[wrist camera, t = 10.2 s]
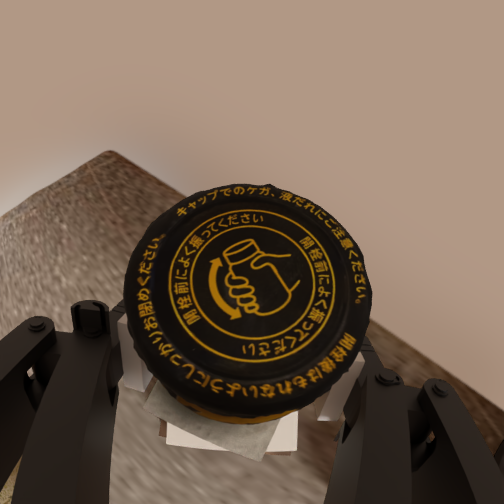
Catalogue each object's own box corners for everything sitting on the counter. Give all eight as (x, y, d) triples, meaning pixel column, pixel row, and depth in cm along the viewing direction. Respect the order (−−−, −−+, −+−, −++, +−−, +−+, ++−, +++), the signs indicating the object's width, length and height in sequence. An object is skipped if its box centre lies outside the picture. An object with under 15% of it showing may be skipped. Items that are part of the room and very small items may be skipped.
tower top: (290, 340, 31) (298, 332, 27) (288, 444, 25) (296, 450, 21) (182, 334, 30) (175, 325, 27) (174, 438, 24) (166, 443, 21)
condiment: (313, 334, 17) (422, 215, 6) (260, 461, 13) (315, 567, 2) (205, 290, 18) (174, 127, 8) (144, 408, 14) (-6, 393, 3)
